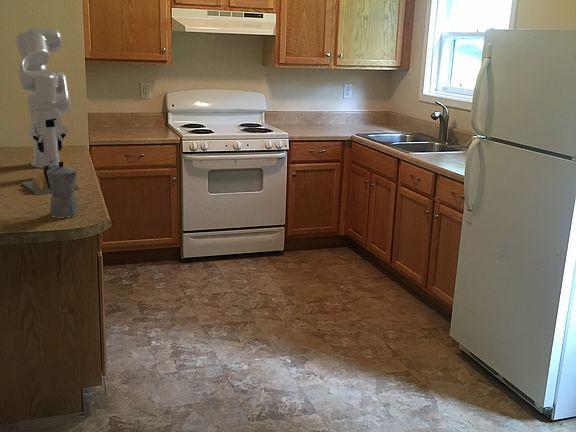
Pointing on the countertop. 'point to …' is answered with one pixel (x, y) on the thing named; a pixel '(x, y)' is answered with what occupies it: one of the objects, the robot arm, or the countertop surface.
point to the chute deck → (39, 184)
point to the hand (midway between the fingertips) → (50, 150)
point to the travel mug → (50, 145)
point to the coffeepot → (62, 190)
